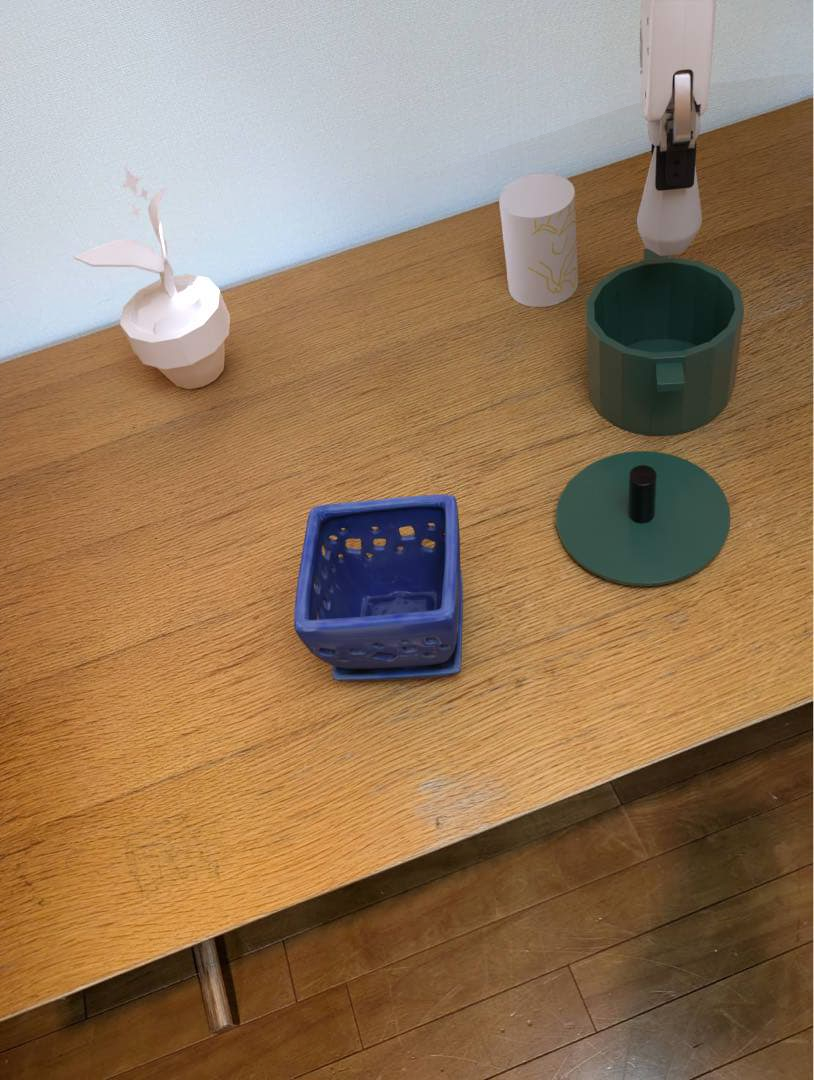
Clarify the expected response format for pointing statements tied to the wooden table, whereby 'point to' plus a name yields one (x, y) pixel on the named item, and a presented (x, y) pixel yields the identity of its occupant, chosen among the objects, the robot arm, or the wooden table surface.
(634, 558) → the lid
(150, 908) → the wooden table surface
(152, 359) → the potted plant
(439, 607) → the flower pot
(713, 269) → the pot
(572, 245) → the white cylinder
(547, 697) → the wooden table surface
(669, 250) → the salt shaker
